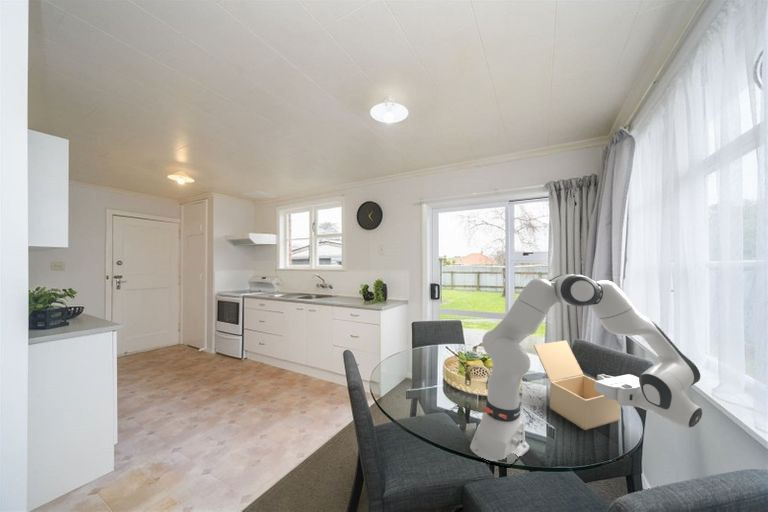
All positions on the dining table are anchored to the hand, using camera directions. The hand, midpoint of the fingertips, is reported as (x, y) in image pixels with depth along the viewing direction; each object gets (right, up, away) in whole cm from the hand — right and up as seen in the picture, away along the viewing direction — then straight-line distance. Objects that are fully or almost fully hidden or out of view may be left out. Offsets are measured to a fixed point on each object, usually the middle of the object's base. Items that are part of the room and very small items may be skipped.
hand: (599, 376), depth 118 cm
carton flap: (-6, 0, +18) cm, 19 cm away
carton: (-2, -19, +7) cm, 20 cm away
